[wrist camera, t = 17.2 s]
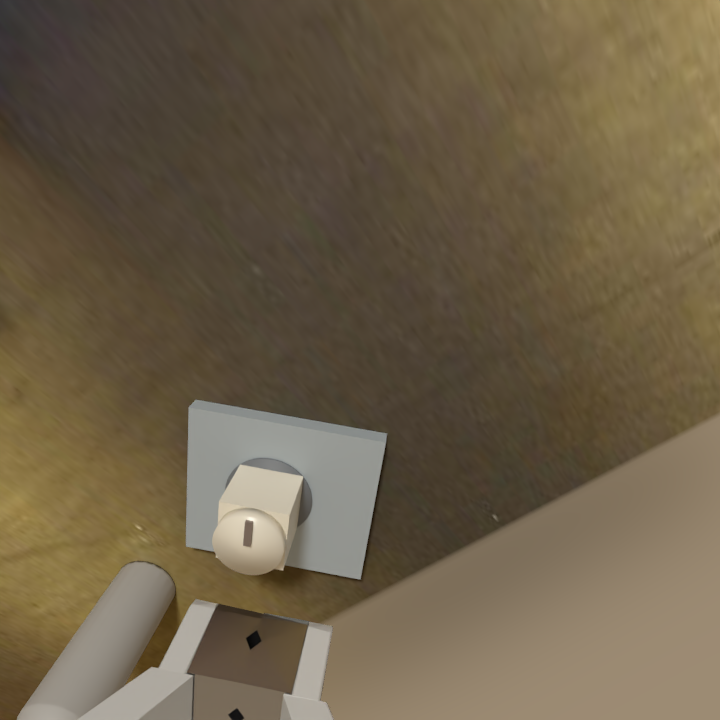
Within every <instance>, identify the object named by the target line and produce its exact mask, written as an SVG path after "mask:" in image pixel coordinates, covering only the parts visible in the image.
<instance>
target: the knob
mask: <svg viewBox="0 0 720 720" xmlns="http://www.w3.org/2000/svg"><path fill="white" fill-rule="evenodd" d="M302 484H303V476H299V475H294V474H288V473H283V472H278V471H272V470H267V469H262V468H256V467H251V466H245V465H240V466H239V467H238V469H237V471H236V473H235V474H234V476H233V478H232V480H231V481H230V483H229V485H228V487H227V488H226V490H225V492H224V494H223V495H222V497H221V499H220V500H219V508H218V526H217V527H216V529H215V531H214V533H213V537H212V545H213V549H214V552H215V554H216V558H219V560H220V561H221V562H222V563H223V564H224V565H226V566H227V567H228V568H230V569H232V570H234V571H236V572H239V573H242V574H246V575H260V574H265V573H268V572H270V571H271V570H273V569H277V570H282V571H283V569H284V566H285V563H286V560H287V557H288V554H289V551H290V548H291V545H292V542H293V539H294V536H295V533H296V529H297V524H298V516H299V508H300V500H301V492H302Z"/></svg>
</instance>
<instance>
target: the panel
mask: <svg viewBox="0 0 720 720" xmlns="http://www.w3.org/2000/svg"><path fill="white" fill-rule="evenodd" d="M386 438H387V434H386V433H381V432H375V431H369V430H364V429H358V428H352V427H347V426H341V425H336V424H330V423H324V422H319V421H313V420H307V419H302V418H296V417H291V416H285V415H279V414H274V413H268V412H262V411H257V410H251V409H246V408H240V407H234V406H229V405H223V404H217V403H212V402H206V401H200V400H195V401H194V402H193V403H192V404H191V405H190V407H189V420H188V468H187V516H186V547H192V548H197V549H202V550H207V551H213V552H214V549H213V545H212V537H213V533H214V531H215V529H216V527H217V526H218V508H219V500H220V499H221V497H222V495H223V494H224V492H225V490H226V488H227V487H228V485H229V483H230V481H231V480H232V478H233V476H234V474H235V473H236V471H237V469H238V467H239V466H240V465H245V466H251V467H256V468H262V469H267V470H272V471H278V472H283V473H288V474H294V475H299V476H303V484H302V492H301V500H300V508H299V516H298V524H297V529H296V533H295V536H294V539H293V542H292V545H291V548H290V551H289V554H288V557H287V560H286V563H285V565H286V566H291V567H297V568H302V569H307V570H313V571H318V572H323V573H328V574H334V575H339V576H344V577H349V578H355V579H361V574H362V568H363V563H364V558H365V552H366V547H367V542H368V536H369V531H370V526H371V520H372V515H373V509H374V504H375V499H376V493H377V488H378V483H379V477H380V472H381V466H382V461H383V456H384V450H385V445H386Z"/></svg>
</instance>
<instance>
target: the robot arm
mask: <svg viewBox="0 0 720 720" xmlns="http://www.w3.org/2000/svg"><path fill="white" fill-rule="evenodd" d="M332 631H333V626H328V625H323V624H318V623H313V622H309V621H304V620H299V619H293V618H288V617H282V616H277V615H271V614H266V613H264V614H261V613H257V612H253V611H248V610H244V609H239V608H235V607H230V606H226V605H221V604H216V603H211V602H207V601H202V600H197V599H196V600H195V601H194V602H193V603H192V604H191V605H190V607H189V609H188V611H187V613H186V615H185V617H184V619H183V621H182V623H181V625H180V627H179V629H178V631H177V633H176V635H175V636H174V638H173V640H172V642H171V644H170V646H169V648H168V650H167V652H166V654H165V656H164V658H163V660H162V662H161V664H160V666H159V668H155V667H150V668H149V669H148V670H146V671H145V672H143V673H142V674H141V675H139V676H138V677H136V678H135V679H134V680H132V681H131V682H129V683H128V684H127V685H125V686H124V687H122V688H121V689H119V690H118V691H117V692H115V693H114V694H112V695H111V696H110V697H108V698H107V699H105V700H104V701H103V702H101V703H100V704H98V705H97V706H96V707H94V708H93V709H91V710H90V711H88V712H87V713H86V714H84V715H83V716H81V717H80V718H79V719H77V720H334V719H333V716H332V714H331V711H330V709H329V706H328V704H327V702H323V701H321V695H322V689H323V684H324V677H325V672H326V666H327V660H328V654H329V648H330V643H331V637H332Z"/></svg>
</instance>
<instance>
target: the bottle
mask: <svg viewBox="0 0 720 720" xmlns="http://www.w3.org/2000/svg"><path fill="white" fill-rule="evenodd" d="M174 596H175V584H174V582H173V579H172V578H171V576H169V574H168V573H167V572H166V571H165V570H163V569H162V568H161V567H159V566H157V565H154V564H153V563H149V562H144V561H134V562H131V563H128V564H126V565H125V566H123V567H122V569H121V570H120V571H119V573H118V574H117V576H116V577H115V578H114V580H113V581H112V582H111V584H110V585H109V587H108V588H107V589H106V591H105V592H104V594H103V595H102V596H101V598H100V599H99V601H98V602H97V604H96V605H95V606H94V608H93V609H92V611H91V612H90V614H89V615H88V616H87V618H86V619H85V621H84V622H83V623H82V625H81V626H80V628H79V629H78V631H77V632H76V633H75V635H74V636H73V638H72V639H71V641H70V642H69V643H68V645H67V646H66V648H65V649H64V651H63V652H62V653H61V655H60V656H59V658H58V659H57V660H56V662H55V663H54V665H53V666H52V668H51V669H50V670H49V672H48V673H47V675H46V676H45V678H44V679H43V680H42V682H41V683H40V685H39V686H38V687H37V689H36V690H35V692H34V693H33V695H32V696H31V697H30V699H29V700H28V702H27V703H26V705H25V706H24V707H23V709H22V710H21V712H20V714H19V715H18V717H17V720H77V719H79V718H80V717H81V716H83V715H84V714H86V713H87V712H88V711H90V710H91V709H93V708H94V707H96V706H97V705H98V704H100V703H101V702H103V701H104V700H105V699H107V698H108V697H110V696H111V695H112V694H114V693H115V692H117V691H118V690H119V689H121V688H122V687H124V685H125V683H126V682H127V680H128V678H129V676H130V675H131V673H132V671H133V669H134V668H135V666H136V664H137V662H138V661H139V659H140V657H141V655H142V653H143V652H144V650H145V648H146V646H147V645H148V643H149V641H150V639H151V638H152V636H153V634H154V632H155V630H156V629H157V627H158V625H159V623H160V622H161V620H162V618H163V616H164V614H165V612H166V611H167V609H168V607H169V605H170V603H171V601H172V600H173V598H174Z"/></svg>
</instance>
